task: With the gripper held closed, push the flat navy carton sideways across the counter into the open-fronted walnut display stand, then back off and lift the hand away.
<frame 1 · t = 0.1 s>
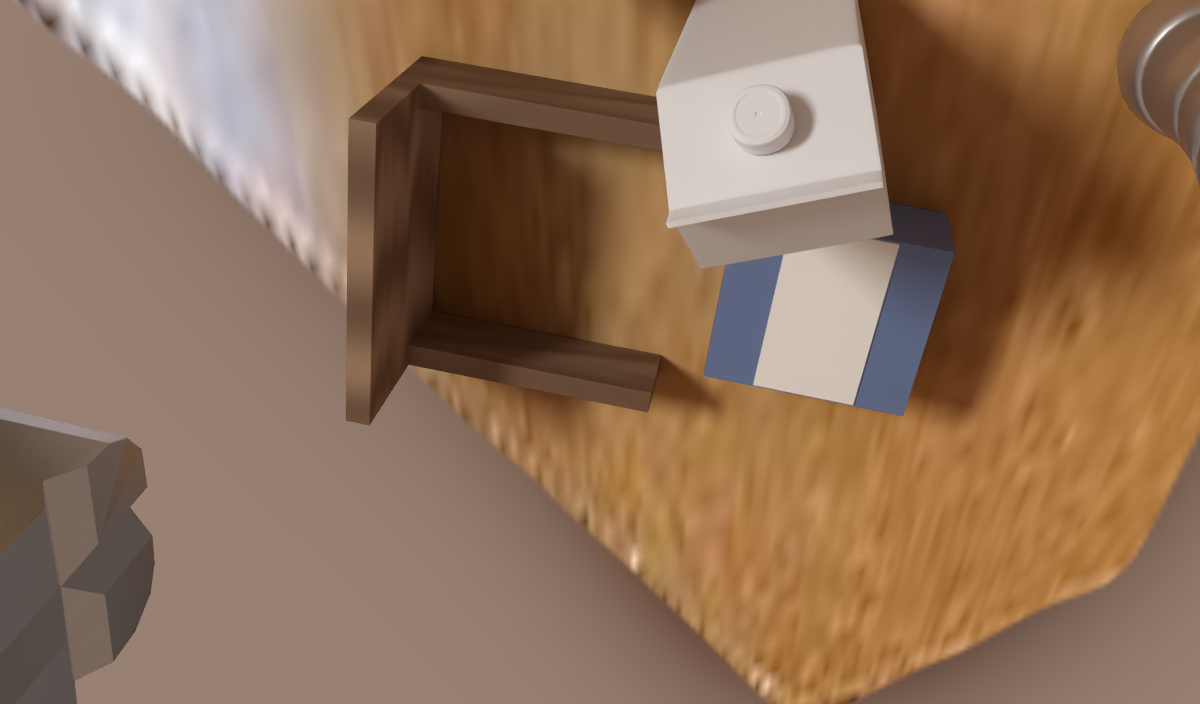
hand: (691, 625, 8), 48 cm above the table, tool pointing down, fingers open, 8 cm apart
navy carton: (823, 272, 59), on the table
plastic bottle: (1186, 46, 50), on the table
display stand: (557, 225, 60), on the table
milk carton: (787, 53, 53), on the table
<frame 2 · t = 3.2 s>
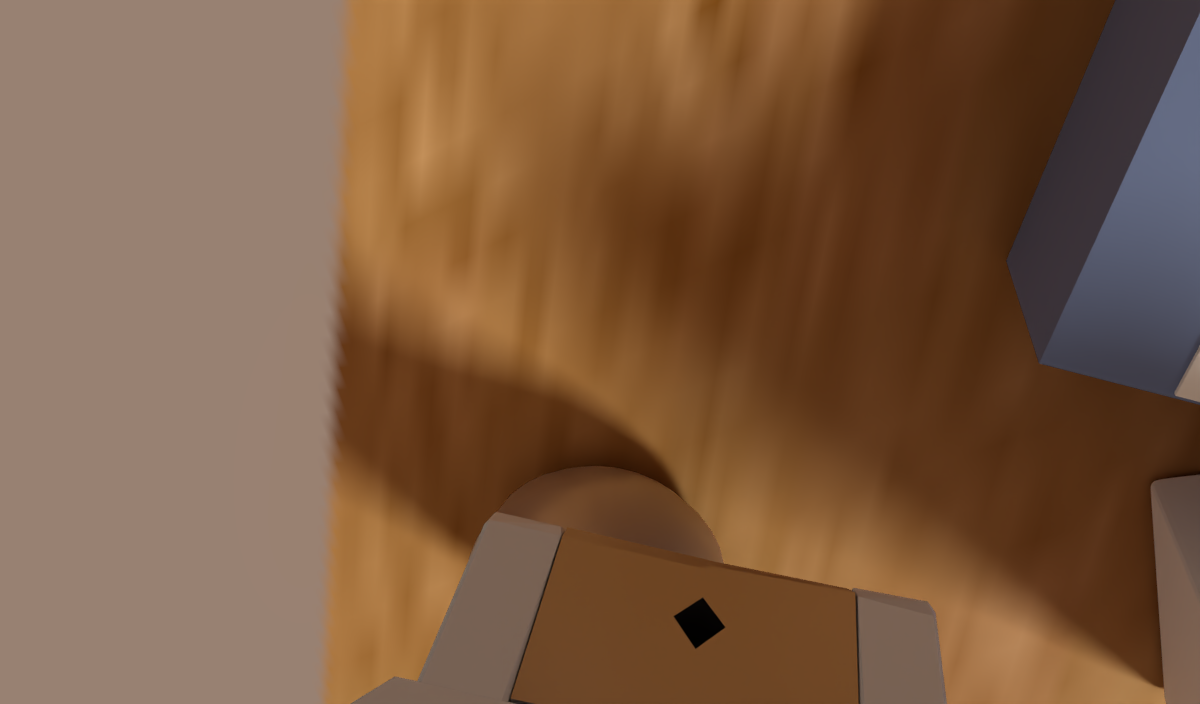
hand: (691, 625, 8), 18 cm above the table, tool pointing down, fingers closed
plastic bottle: (613, 528, 31), on the table
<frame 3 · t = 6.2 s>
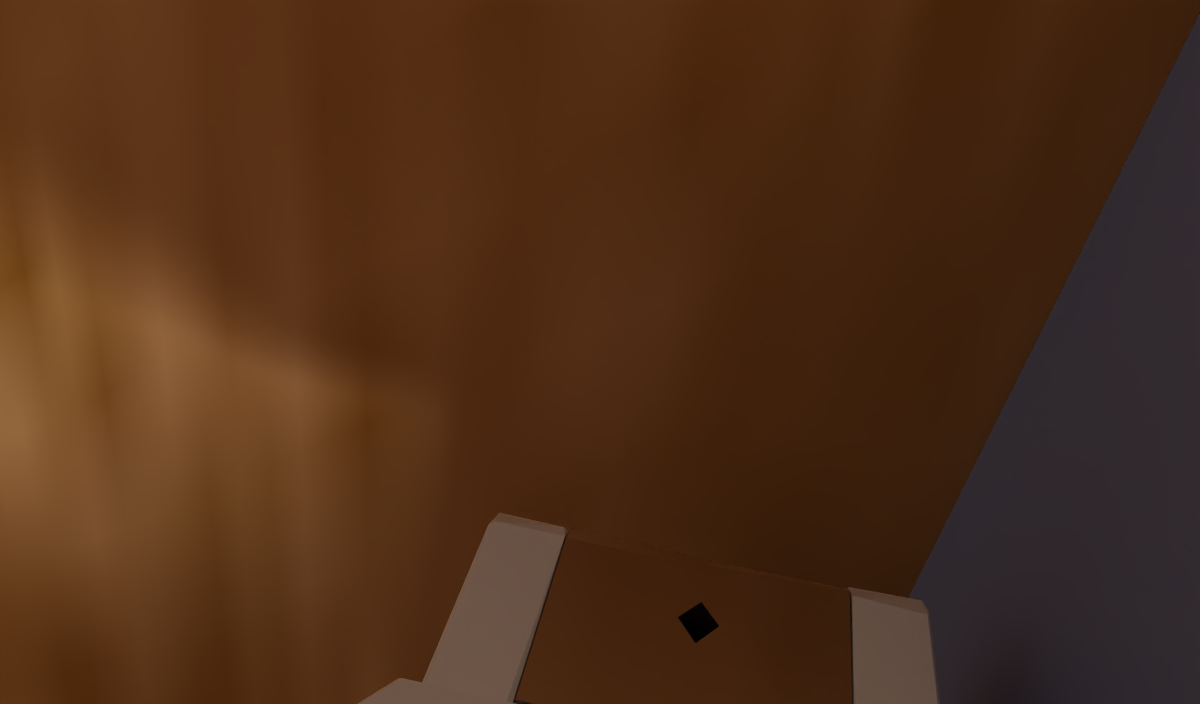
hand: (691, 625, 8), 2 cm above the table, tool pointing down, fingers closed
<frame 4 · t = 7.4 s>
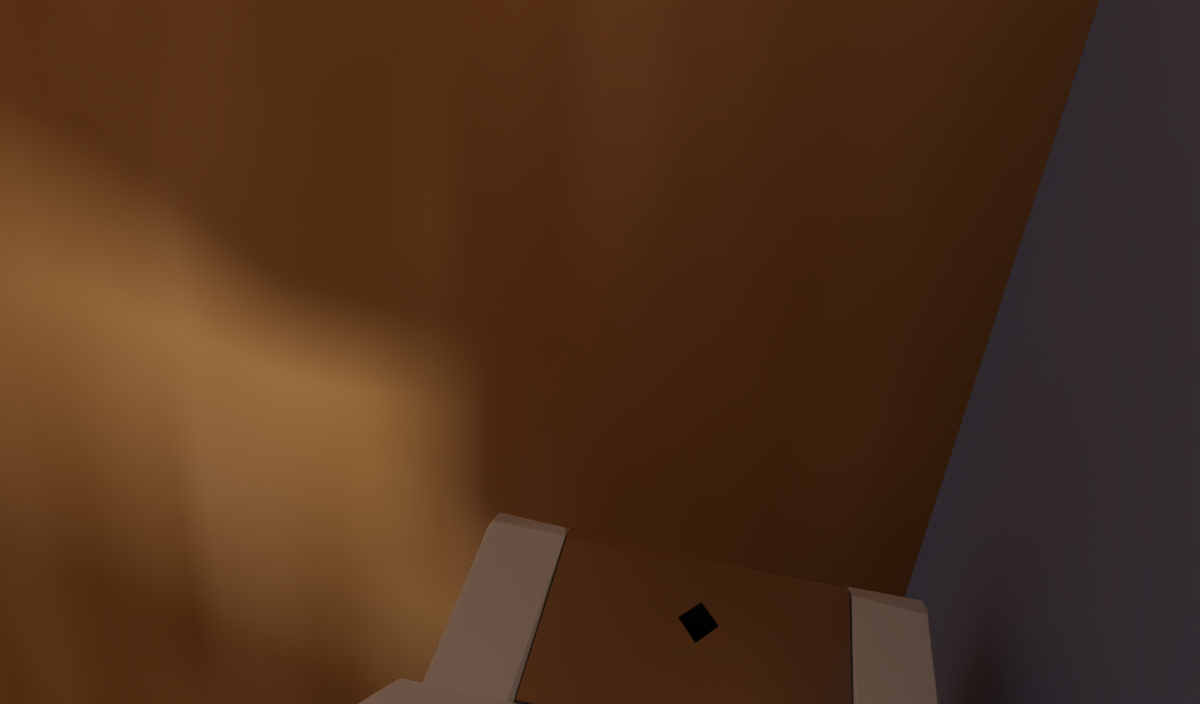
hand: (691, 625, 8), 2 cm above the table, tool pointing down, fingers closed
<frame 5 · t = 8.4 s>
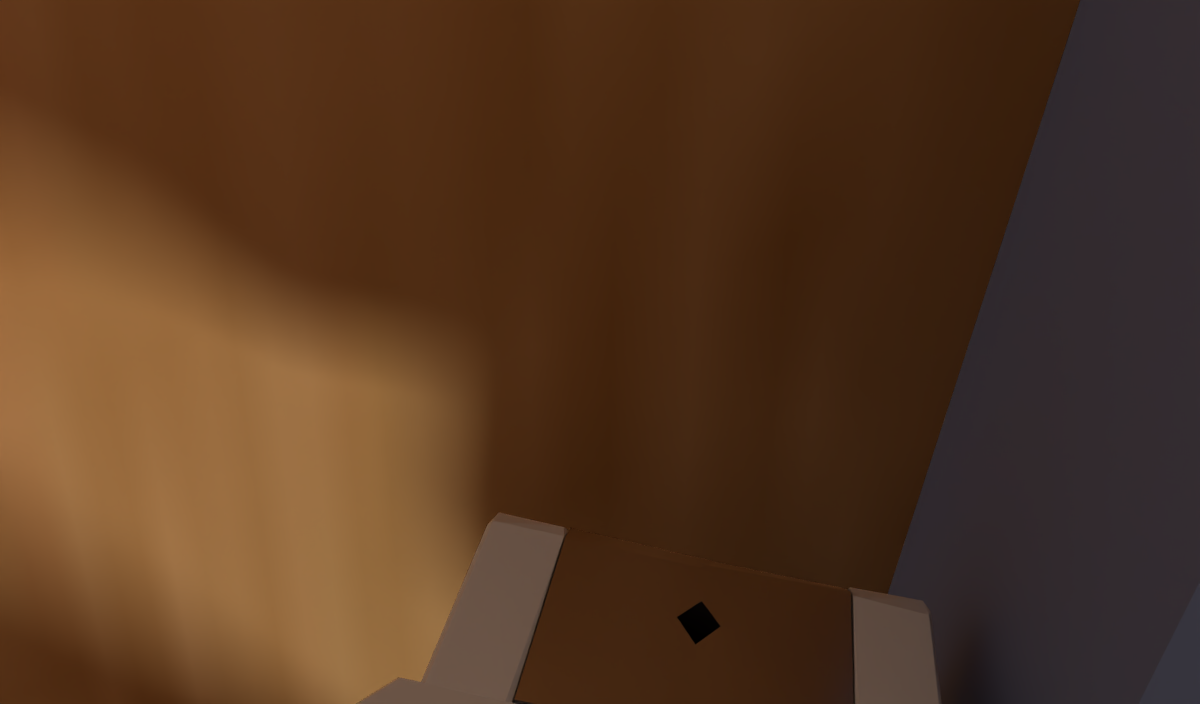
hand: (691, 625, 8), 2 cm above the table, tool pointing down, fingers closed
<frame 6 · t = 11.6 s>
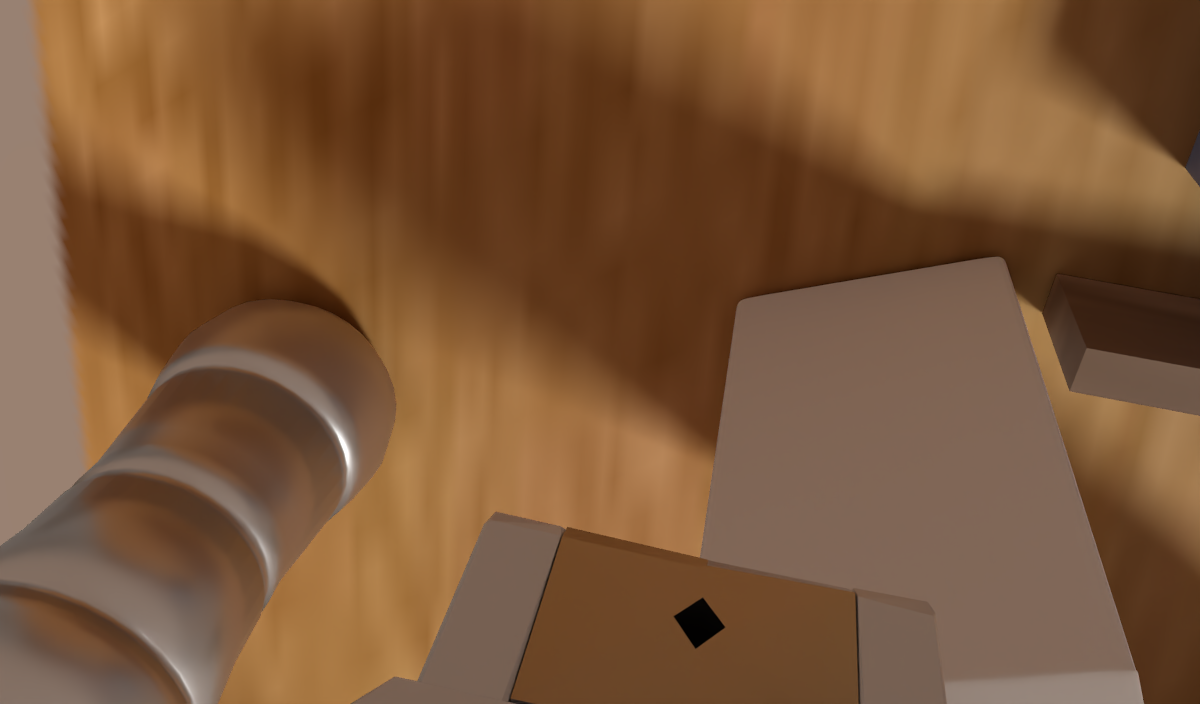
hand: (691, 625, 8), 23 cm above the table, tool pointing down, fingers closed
plastic bottle: (313, 363, 36), on the table
milk carton: (885, 381, 32), on the table
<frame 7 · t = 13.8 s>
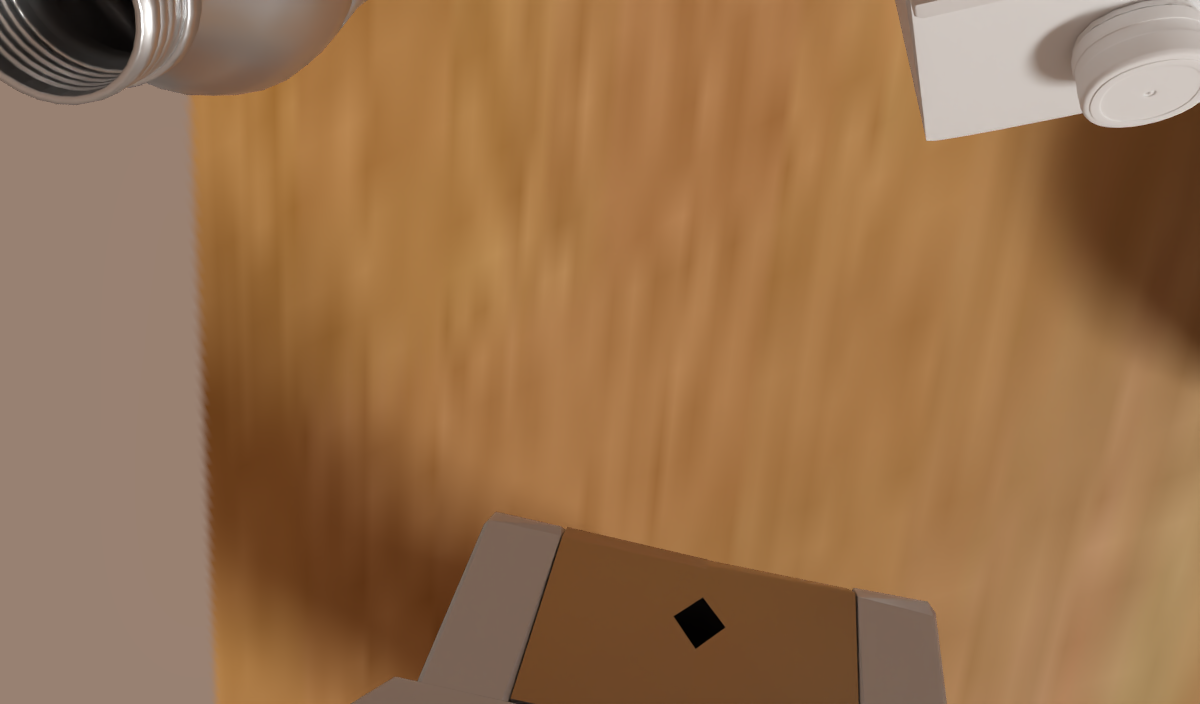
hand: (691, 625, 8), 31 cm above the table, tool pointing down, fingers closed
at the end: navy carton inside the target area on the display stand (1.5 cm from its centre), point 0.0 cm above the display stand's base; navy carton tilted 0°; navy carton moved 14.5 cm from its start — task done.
